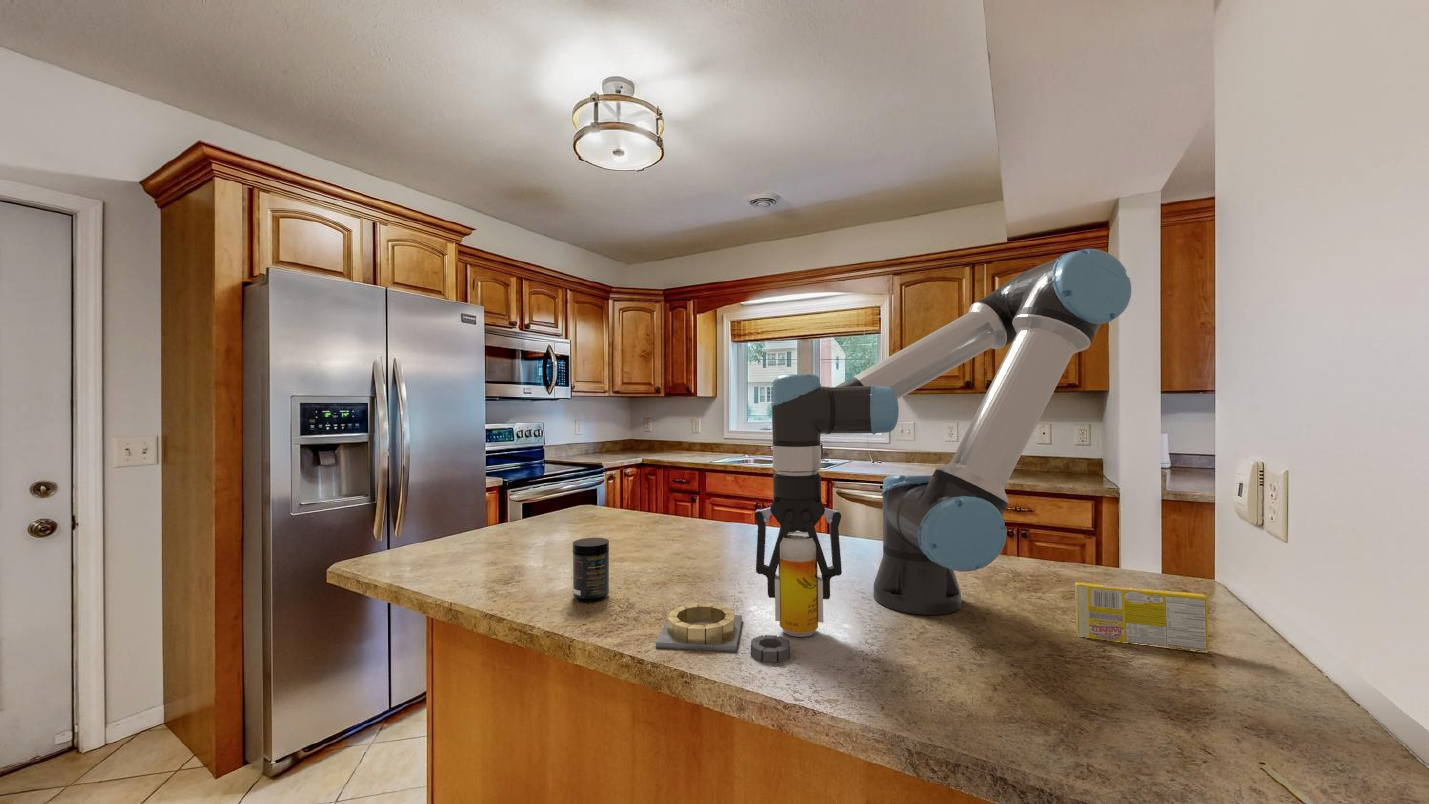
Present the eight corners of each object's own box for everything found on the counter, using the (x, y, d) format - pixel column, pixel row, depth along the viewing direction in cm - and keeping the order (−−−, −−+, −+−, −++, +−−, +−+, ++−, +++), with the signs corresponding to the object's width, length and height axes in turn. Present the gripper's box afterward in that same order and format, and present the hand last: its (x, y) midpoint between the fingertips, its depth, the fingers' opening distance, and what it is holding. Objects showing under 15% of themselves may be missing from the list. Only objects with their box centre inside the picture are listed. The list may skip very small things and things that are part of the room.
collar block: (742, 620, 94) (742, 603, 94) (736, 651, 82) (735, 632, 82) (671, 617, 96) (671, 600, 96) (655, 647, 84) (655, 628, 84)
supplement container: (617, 596, 106) (616, 540, 106) (588, 606, 101) (588, 548, 101) (593, 589, 110) (593, 535, 110) (565, 598, 105) (564, 542, 105)
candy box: (1203, 649, 83) (1203, 593, 83) (1209, 655, 81) (1209, 597, 81) (1074, 633, 89) (1074, 580, 89) (1077, 638, 87) (1077, 584, 87)
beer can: (817, 639, 86) (816, 540, 86) (777, 636, 87) (776, 539, 87) (818, 623, 92) (817, 531, 92) (781, 621, 93) (779, 530, 93)
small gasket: (789, 646, 84) (789, 636, 84) (790, 663, 79) (790, 652, 79) (752, 644, 85) (752, 634, 85) (749, 661, 79) (749, 650, 79)
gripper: (855, 469, 92) (857, 611, 92) (739, 469, 94) (741, 607, 94) (861, 475, 84) (863, 630, 84) (735, 475, 87) (737, 625, 87)
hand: (799, 618), depth 89 cm, fingers closed on beer can, 6 cm apart
